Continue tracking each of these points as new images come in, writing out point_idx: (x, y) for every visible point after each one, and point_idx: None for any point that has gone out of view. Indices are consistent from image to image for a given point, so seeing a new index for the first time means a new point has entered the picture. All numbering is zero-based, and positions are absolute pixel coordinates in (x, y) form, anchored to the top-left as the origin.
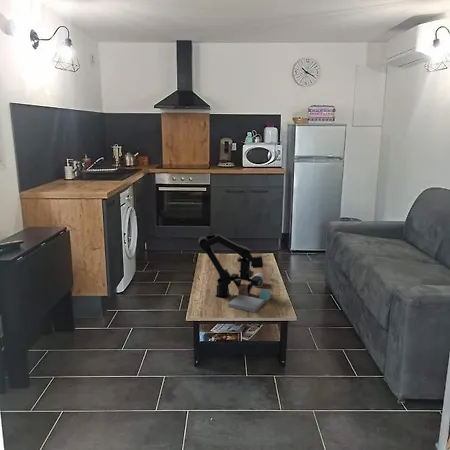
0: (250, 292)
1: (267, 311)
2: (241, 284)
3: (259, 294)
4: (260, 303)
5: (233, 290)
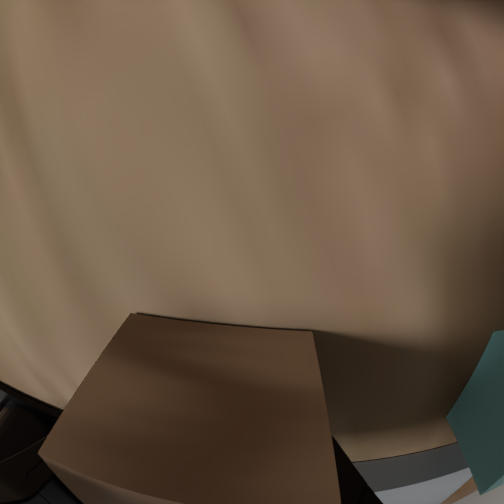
0: (314, 356)
1: (466, 483)
2: (73, 490)
3: (472, 465)
4: (443, 500)
5: (11, 291)
